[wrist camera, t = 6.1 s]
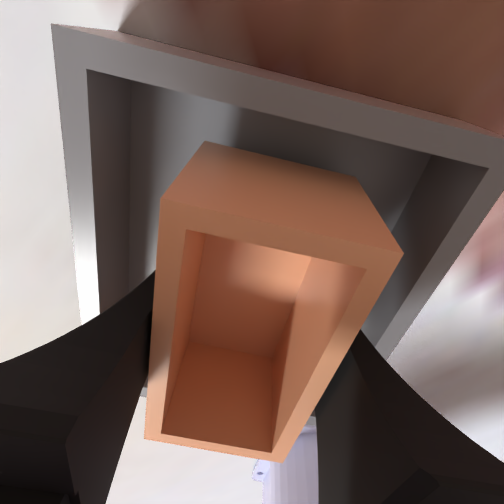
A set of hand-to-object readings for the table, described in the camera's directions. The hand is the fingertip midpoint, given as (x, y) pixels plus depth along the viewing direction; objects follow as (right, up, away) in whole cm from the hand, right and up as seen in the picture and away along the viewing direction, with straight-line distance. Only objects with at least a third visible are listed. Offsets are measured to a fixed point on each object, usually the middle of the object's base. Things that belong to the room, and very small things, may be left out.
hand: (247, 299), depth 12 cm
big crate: (0, +2, +3) cm, 4 cm away
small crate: (0, +1, +1) cm, 2 cm away
